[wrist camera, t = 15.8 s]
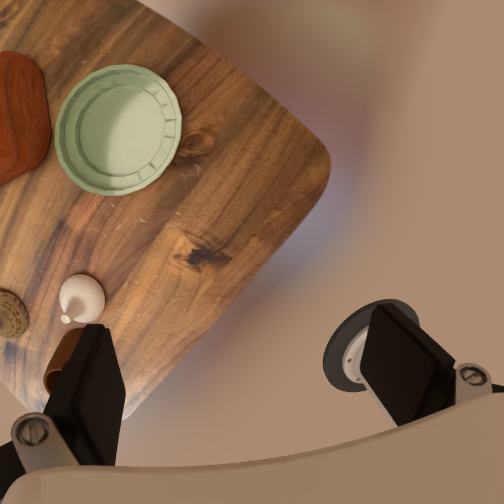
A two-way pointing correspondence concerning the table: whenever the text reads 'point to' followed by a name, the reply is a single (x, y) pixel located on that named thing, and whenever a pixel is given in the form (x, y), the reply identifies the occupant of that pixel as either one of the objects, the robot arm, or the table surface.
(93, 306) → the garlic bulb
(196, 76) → the table surface
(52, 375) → the mug
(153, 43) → the table surface
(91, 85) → the bowl
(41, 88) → the bread
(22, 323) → the seashell
